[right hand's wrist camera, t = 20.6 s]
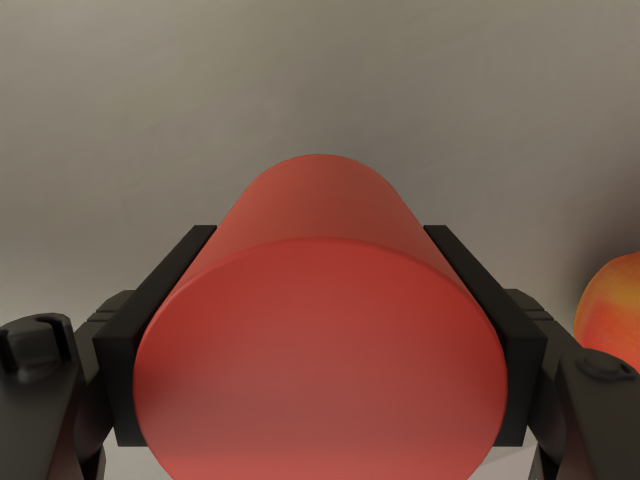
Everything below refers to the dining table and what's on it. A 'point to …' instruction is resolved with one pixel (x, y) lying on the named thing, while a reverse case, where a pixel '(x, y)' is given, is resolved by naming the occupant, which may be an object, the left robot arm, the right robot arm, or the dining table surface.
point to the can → (320, 342)
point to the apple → (612, 310)
